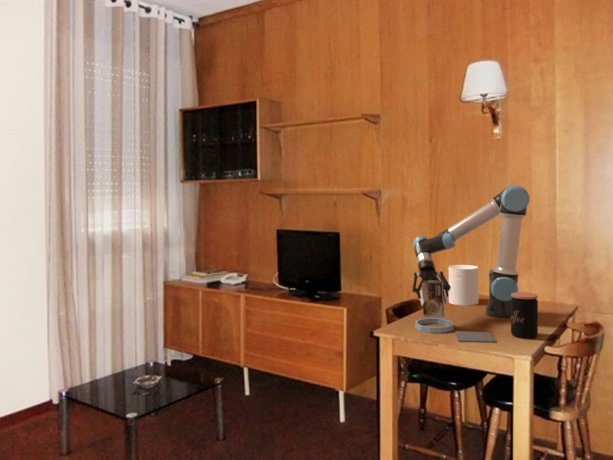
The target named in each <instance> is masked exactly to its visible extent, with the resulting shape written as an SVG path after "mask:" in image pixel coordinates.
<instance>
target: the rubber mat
mask: <svg viewBox="0 0 613 460" xmlns="http://www.w3.org/2000/svg"><path fill="white" fill-rule="evenodd" d="M454 334H455V336H456V338H457V341H458V342H459V343H497V340H496V338H495V337H494V335H493V334H492V333H491V331H469V330H468V331H467V330H466V331H465V330H463V331H462V330H460V331H459V330H454Z"/></svg>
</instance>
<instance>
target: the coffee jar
mask: <svg viewBox="0 0 613 460" xmlns="http://www.w3.org/2000/svg"><path fill="white" fill-rule="evenodd" d="M538 295H539V294H537V293H533V292H525V291H524V292H522V291H520V292H519V291H518V292H515V293H512V294H511V297H512V299H511V317H510V334H511V335H512V336H513V337H514V338H517V339H523V340H524V339H525V340H531V339H535V338H537V337H538V334H539V332H538V331H539V328H538V327H539V326H538V325H539V321H538V320H539V318H538V317H539V312H538V311H539V301H538V297H539V296H538Z"/></svg>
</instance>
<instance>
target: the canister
mask: <svg viewBox="0 0 613 460" xmlns="http://www.w3.org/2000/svg"><path fill="white" fill-rule="evenodd" d="M448 283H449V285H450V286H451V288H450V291H448V303H449V304H452V305H456V306H476V305H478V304H479V266H478V265H471V264H453V265H449V266H448Z"/></svg>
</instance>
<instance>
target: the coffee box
mask: <svg viewBox="0 0 613 460" xmlns="http://www.w3.org/2000/svg"><path fill="white" fill-rule="evenodd" d="M421 290H422V295H423V300H424V305H423V306H422V315H423V316H422V317H423V318H440V319H444V315H445V310H444V309H445V307H444V306H445V305H444V304H445V301H444V297H443V281H441V280H440V281H423V283H422V287H421Z"/></svg>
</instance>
